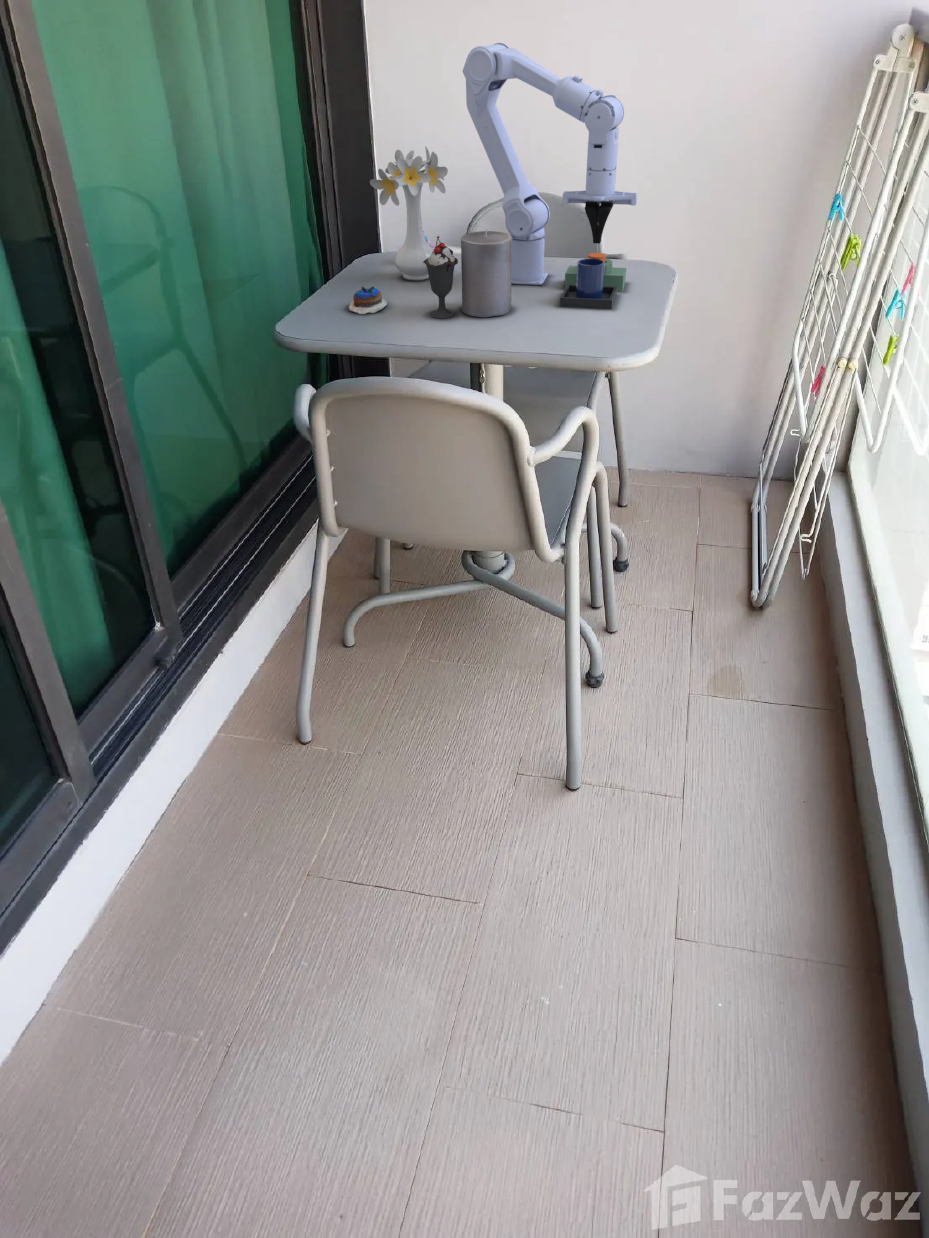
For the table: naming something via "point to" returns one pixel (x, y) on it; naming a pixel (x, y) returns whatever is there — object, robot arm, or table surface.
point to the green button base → (611, 276)
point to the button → (597, 256)
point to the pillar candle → (486, 273)
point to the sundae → (441, 276)
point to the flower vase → (411, 206)
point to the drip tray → (588, 299)
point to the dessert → (367, 301)
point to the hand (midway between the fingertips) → (597, 242)
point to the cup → (590, 278)
